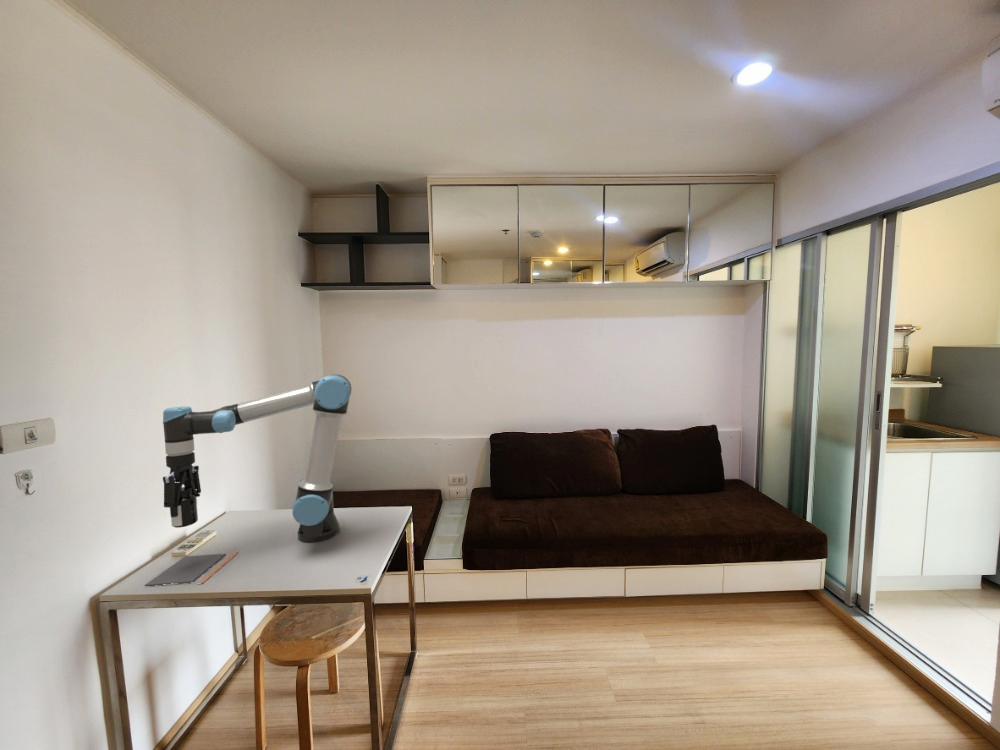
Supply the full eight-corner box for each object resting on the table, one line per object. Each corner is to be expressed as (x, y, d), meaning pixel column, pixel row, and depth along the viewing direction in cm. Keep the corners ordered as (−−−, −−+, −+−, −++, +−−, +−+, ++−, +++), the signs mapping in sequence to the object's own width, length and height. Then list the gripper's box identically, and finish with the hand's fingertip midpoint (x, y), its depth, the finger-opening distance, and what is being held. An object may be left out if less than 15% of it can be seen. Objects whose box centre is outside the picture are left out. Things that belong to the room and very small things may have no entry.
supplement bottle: (191, 518, 139) (189, 484, 138) (202, 521, 135) (199, 486, 135) (167, 526, 133) (165, 490, 132) (178, 529, 129) (175, 493, 129)
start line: (238, 553, 146) (238, 551, 146) (202, 584, 126) (202, 582, 126) (234, 553, 145) (234, 552, 145) (197, 584, 126) (197, 583, 126)
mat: (226, 555, 144) (225, 553, 144) (192, 583, 126) (192, 581, 126) (184, 558, 143) (184, 556, 143) (144, 586, 125) (144, 584, 125)
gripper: (188, 447, 142) (193, 510, 143) (144, 461, 123) (150, 534, 124) (210, 446, 143) (215, 509, 144) (170, 460, 123) (175, 533, 124)
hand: (185, 520), depth 134 cm, fingers closed on supplement bottle, 7 cm apart
